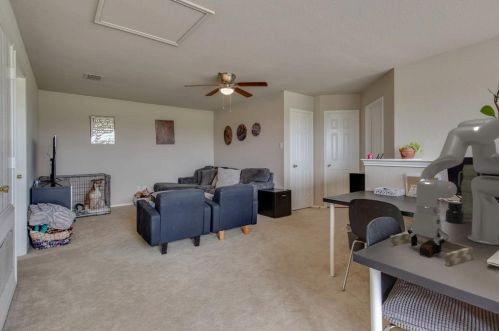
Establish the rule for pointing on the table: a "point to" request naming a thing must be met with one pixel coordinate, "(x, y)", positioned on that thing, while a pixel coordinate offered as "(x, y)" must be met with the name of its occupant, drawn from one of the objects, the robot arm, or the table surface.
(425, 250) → the brick
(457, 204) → the ink bottle
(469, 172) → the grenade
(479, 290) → the table surface
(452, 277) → the table surface
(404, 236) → the beige u-shaped frame
